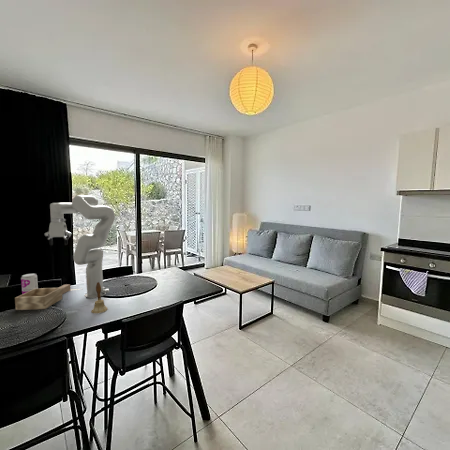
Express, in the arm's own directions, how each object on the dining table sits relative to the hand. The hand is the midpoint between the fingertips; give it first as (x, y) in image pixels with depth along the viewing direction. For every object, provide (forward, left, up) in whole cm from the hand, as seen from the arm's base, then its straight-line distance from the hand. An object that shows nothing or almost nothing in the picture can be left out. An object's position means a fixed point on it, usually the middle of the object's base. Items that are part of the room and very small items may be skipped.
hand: (58, 245), depth 176 cm
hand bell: (-44, +41, -32) cm, 69 cm away
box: (-5, +30, -32) cm, 44 cm away
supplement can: (+11, +15, -32) cm, 37 cm away
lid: (-7, +9, -33) cm, 35 cm away
